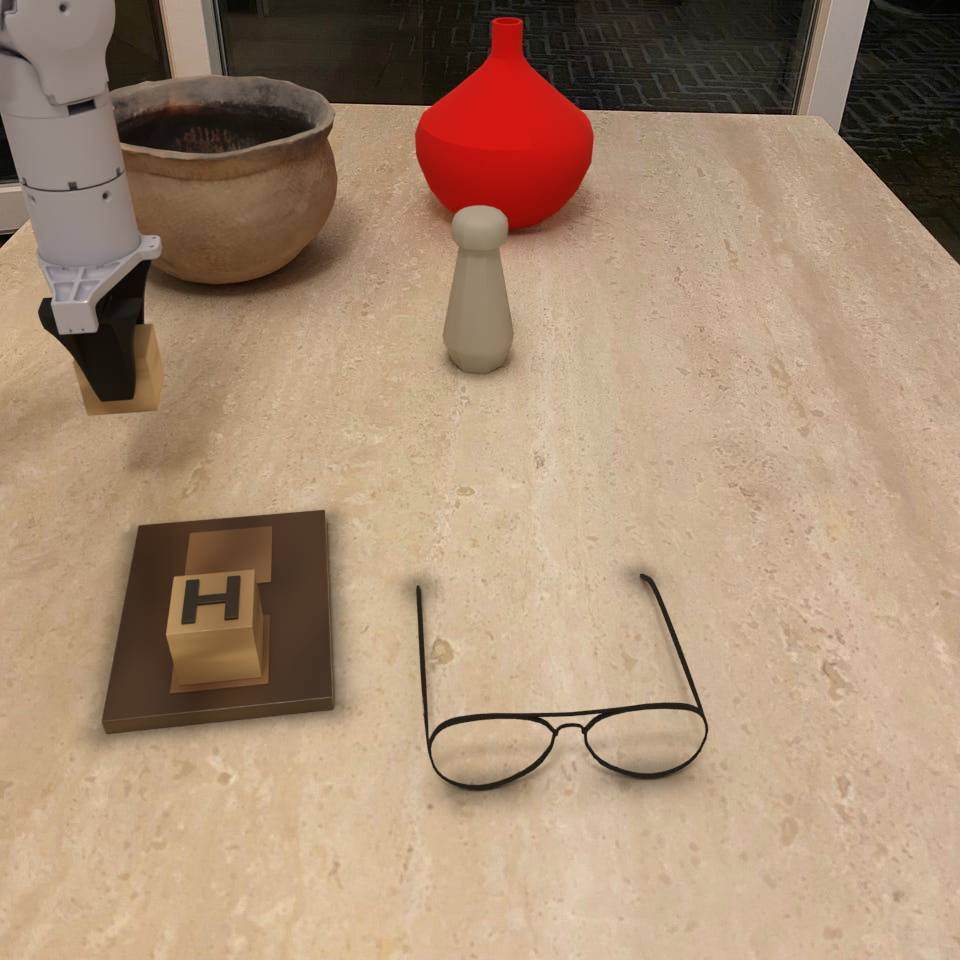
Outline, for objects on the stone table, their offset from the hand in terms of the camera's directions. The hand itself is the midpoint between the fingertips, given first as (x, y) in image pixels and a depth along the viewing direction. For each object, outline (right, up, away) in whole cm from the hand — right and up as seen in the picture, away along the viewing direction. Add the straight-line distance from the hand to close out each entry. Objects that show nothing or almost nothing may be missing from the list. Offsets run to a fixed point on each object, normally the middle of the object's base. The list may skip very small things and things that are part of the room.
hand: (122, 377), depth 65 cm
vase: (+26, +22, +43) cm, 54 cm away
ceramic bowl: (-1, +14, +32) cm, 35 cm away
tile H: (+9, -16, -9) cm, 21 cm away
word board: (+8, -15, -5) cm, 18 cm away
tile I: (0, -1, +1) cm, 1 cm away
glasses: (+27, -18, -8) cm, 33 cm away
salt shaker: (+23, +3, +18) cm, 30 cm away
